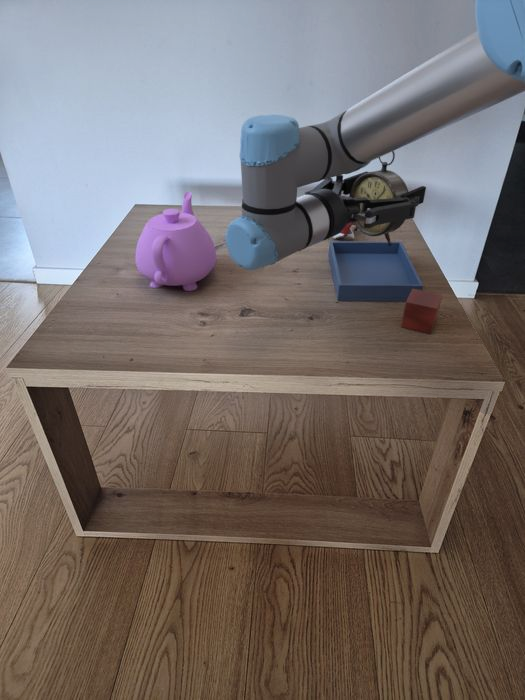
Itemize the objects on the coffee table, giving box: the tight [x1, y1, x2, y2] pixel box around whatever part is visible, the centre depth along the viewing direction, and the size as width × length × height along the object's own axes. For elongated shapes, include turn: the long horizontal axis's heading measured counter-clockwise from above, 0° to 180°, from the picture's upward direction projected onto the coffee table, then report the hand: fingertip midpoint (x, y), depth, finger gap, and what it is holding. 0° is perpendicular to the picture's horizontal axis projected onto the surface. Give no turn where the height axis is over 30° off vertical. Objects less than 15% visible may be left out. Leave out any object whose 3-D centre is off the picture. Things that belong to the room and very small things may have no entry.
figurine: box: [332, 222, 356, 240], centre depth 114 cm, size 15×12×7 cm
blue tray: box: [328, 240, 424, 302], centre depth 98 cm, size 19×15×3 cm
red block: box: [400, 289, 443, 335], centre depth 84 cm, size 5×5×5 cm
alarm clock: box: [348, 150, 409, 246], centre depth 87 cm, size 11×5×16 cm, turn 37°
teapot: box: [135, 191, 218, 292], centre depth 96 cm, size 22×16×14 cm
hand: (393, 186), depth 89 cm, fingers closed on alarm clock, 11 cm apart
